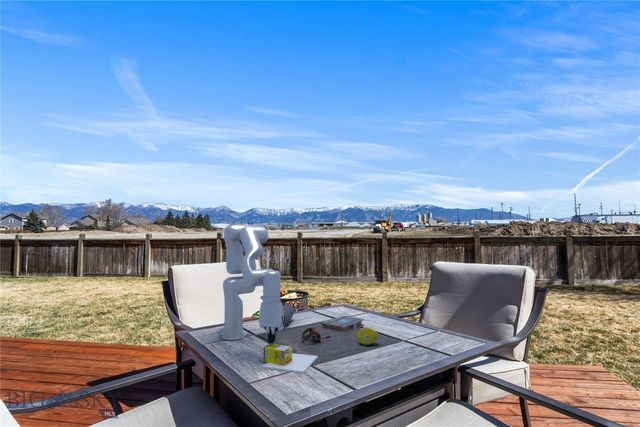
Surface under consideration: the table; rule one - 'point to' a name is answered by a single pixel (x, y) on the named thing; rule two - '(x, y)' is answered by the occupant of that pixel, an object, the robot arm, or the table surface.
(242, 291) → the robot arm
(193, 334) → the table surface
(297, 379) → the table surface
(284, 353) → the supplement box
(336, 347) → the table surface
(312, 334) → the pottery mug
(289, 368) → the flat white board
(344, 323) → the book
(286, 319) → the bluetooth speaker
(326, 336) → the table surface
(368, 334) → the lemon
